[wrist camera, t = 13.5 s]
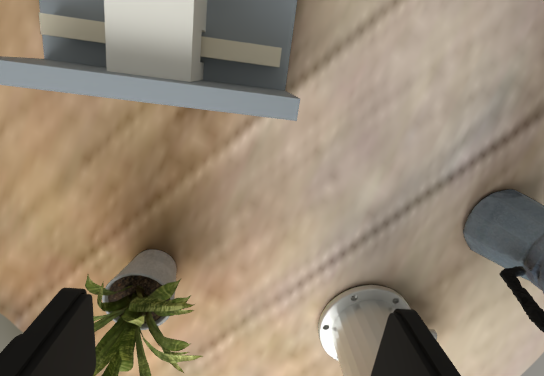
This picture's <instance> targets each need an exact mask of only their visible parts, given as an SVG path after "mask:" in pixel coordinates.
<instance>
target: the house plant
mask: <svg viewBox="0 0 544 376" xmlns="http://www.w3.org/2000/svg"><path fill="white" fill-rule="evenodd" d="M176 271H177V270H176V264H175V261H174V260H173V258H172V257H171V256H170V255H168V254H167V253H165V252H163V251H160V250H155V249H150V250H146V251H143V252H141V253H139V254H138V255H137V256H136V257H135V258H134V259H133V260H132V261H131V262H130V263H129V264H128V265H127V266H126V267H125V268H124V269H123V270H122V271H121V272H120V273H119V274H118V275H117V276H116V277H115V278H113V279H112V280H111V281H110V282H109V283H108V284H107V286H106V288H103V283H102V286H99V285H97V284H95V283H93V282H92V281H91V280H90V279H89V276H87V281H86V284H85V286H86V288H87V290H88V291H89V292H91V293H93V294H97V295H98V299H97V302H98V305H99V307H100V308H101V309H102V310H103V311H106V313H107V315H103V316H93V319H94V321H96V320H98V319H101V318H103V319H101V320H99V321H97V322H95V323H94V332H95V331H97V330H99V329H100V328H102V327H104V326H105V325H106V324H107V323H109V322H110V321H112V320H113V321H115V322H116V323H115V325H114V326H113V327H112V328H111V329H110V330H109V331H108V332H107V333H106V334H105V336H104V337H103V338H102V339H101V341H100V342H99V343H98V345H97V346H96V347H95V351H96V368H95V372H94V375H93V376H95V375H96V374H97V373H99V372H100V371H101V370H102V369H103V368H104V367H105V366H106V365H107V364H108V363H109V362H110V363H109V365H108V366H107V368H106V370H105V371H104V373H103V375H102V376H118V373H119V371H129V370H131V369H132V367H133V352H134V347H135V342H136V349H137V357H138V364H139V372H140V376H151V373H150V369H149V365H148V362H147V360H146V357H145V353H144V349H143V345H142V341H141V336H140V333H141V330H147V329H149V331H150V333H151V334H152V336H153V337H154V339H155V341H156V342H157V343H158V345H159V344H160V345H161V346H162V349H163V352H164V353H162V352H160V351H158V350H156V349H155V348H154V347H152V346H151V345H150V344H149V343H148V342H147V341H146V340H145V339H144V337H143V335H142V333H141V335H142V337H143V340H144V342H145V343H146V344H147V346H148V347H149V348H150V350H151V351H152V352H153V353H154V354H155V355H156V356H157V357H159V358H160V359H161V360H164V361H166V362H169V363H170V364H172V365H173V366H174V367H175V368H176V369H177V370H179V371H181V372H183V371H182V369H181V368H180V367H179V366H178V364H177V363H176V362H182V361H190V360H195V359H197V358H199V357H204V356H189V355H182V354H186V353H189V352H181V353H175V352H170V350H171V351H180V350H182V349H184V348H186V347H187V346H189V345H190V344H191V343H190V344H188V343H186V342H184V341H180V340H175V339H170V338H166V337H164V336H163V334H162V333H161V331H160V330H159V328H158V326H159V325H161V324H162V323H164V322H165V321H166V320H167V319H168V318H169V316H172V315H180V314H186V313H190V312H192V311H194V310H181V309H184V308H188V307H191V306H193V305H191V304H187V303H186V302H187V300H188V299H189V298H190V296H189V297H187V298H176V299H174V295H175V290H176V288H177V286H178V283H179V281H180V280H181V279H180V280H178V281H176ZM102 295H103V297H102ZM101 300H102V301H103V303H102V302H101ZM194 305H195V304H194ZM160 345H159V346H160ZM161 346H160V347H161ZM183 373H184V372H183Z"/></svg>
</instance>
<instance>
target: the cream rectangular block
mask: <svg viewBox="0 0 544 376" xmlns="http://www.w3.org/2000/svg"><path fill="white" fill-rule="evenodd" d="M104 14H105V40H106V66H107V71H109V72H117V73H125V74H132V75H140V76H148V77H156V78H164V79H172V80H179V81H187V82H193V81H198V80H203V70H204V63H202V62H200V54H201V34H202V32H206V14H207V0H104Z"/></svg>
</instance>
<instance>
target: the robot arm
mask: <svg viewBox="0 0 544 376" xmlns="http://www.w3.org/2000/svg"><path fill="white" fill-rule="evenodd" d="M318 333H319V338H320V341H321V344H322V347H323V348H324V350H325V351H326V352H327V353H328V354H329V355H330V356H331V357H332V358H334V359H335V360H337V361H339V364H340V367H341V370H342V374H343V376H461V375H460V374H459V372H458V371H457V369H456V368H455V366H454V365H453V364H452V362H451V361H450V359H449V358H448V356H447V355H446V354H445V352H444V351H443V349H442V348H441V346H440V345H439V343H438V342H437V341H436V339H437V333H436V331H435V330H434V329H428V328H427V326H426V325H425V323H424V322H423V320H422V319H421V318H420V316H419V315H418V313H417V312H416V311H415V310H411V308H410V307H409V305H408V303H407V302H406V301H405V299H404V298H403V297H402V296H401V295H400V294H399V293H397V292H396V291H394V290H392V289H390V288H388V287H384V286H379V285H365V286H359V287H355V288H352V289H349V290H347V291H345V292H343V293H341V294H340V295H338V296H336V297H335V298H334V299H333V300H332V301H331V302H330V303H329V304H328V305H327V306H326V307H325V309H324V310H323V312H322V314H321V316H320V319H319V323H318ZM95 368H96V351H95V335H94V319H93V303H92V296H91V295H90V294H87V293H86V290H85V289H77V288H62V289H61V290H60V291H59V292H58V294H57V295H56V296H55V297H54V298H53V299H52V301H51V302H50V303H49V304H48V305H47V306H46V308H45V309H44V310H43V311H42V312H41V313H40V314H39V316H38V317H37V318H36V319H35V320H34V321H33V323H32V324H31V325H30V326H29V327H28V328H27V330H26V331H25V332H24V333H23V334H20V335H18V336H16V337H15V338H14V339H13V340H12V341H11V342H10V343H9V344H8V345H7V346H6V347H5V349H4V350H3V351H2V352H1V353H0V376H93V375H94V372H95Z"/></svg>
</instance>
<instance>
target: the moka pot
mask: <svg viewBox="0 0 544 376" xmlns="http://www.w3.org/2000/svg"><path fill="white" fill-rule="evenodd" d="M463 233H464V237H465V240H466V242H467V244H468V246H469V247H470V249H471V250H472V251H474V252H476V253H478V254H480V255H482V256H484V257H485V258H487V259H489V260H491V261H493V262H495V263H497V264H498V265H500V266H502V267H504V268H506V269H504V270H502V271H501V273H500V276H501V277H502V278H503V280H504V281H505V282H506V283H507V286H508V287H509V288H510V289H511V290H512V292H513V294H514V295H515V296H516V298H517V300H518V301H519V302H520V304H521V305H522V307H523V309H524V311H525V312H526V314H527V315H528V316H529V319H531V321H532V322H534V323H535V325H536V326H537V327H538V328H539V329H540V330H541V331H543V332H544V311H543V309H541V308H540V307H539V306H538V304H537V303H536V302H535V301H534V300H533V297H532V296H531V295H530V294H529V293H528V292H527V290H526V289H525V288H522V286H521V284H520V281H519V280H518V278H517V277H518V276H520V277H522V278H524V279H527V280H529V281H531V282H532V283H533V284H534V285H535V286H537V287H538V288H539V289H541V290H542V291H543V293H544V206H543V205H542V204H540V203H538V202H537V201H535V200H533V199H531V198H529V197H528V196H526V195H524V194H522V193H520V192H518V191H516V190H513V189H510V190H503V191H499V192H495V193H492V194H490V195H489V196H487V197H485V198H484V199H482V200H481V201H480V202H479V203H478V204H477V205H476V206H475V208H474V209H473V210H472V211H471V213H470V214H469V216H468V219H467V222H466V224H465V227H464V230H463Z"/></svg>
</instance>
